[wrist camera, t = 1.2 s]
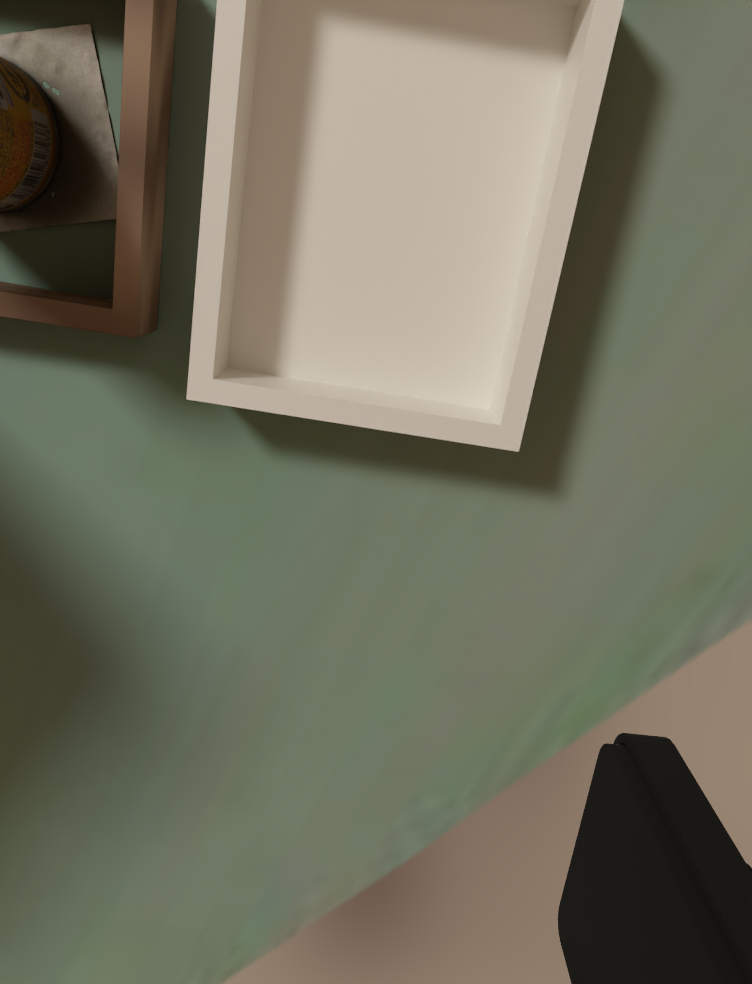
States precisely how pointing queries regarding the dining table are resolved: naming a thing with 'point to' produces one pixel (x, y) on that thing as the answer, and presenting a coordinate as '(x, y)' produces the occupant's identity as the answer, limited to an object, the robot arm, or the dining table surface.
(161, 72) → the brown wooden square frame
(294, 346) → the tray
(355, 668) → the dining table surface
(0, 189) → the condiment
